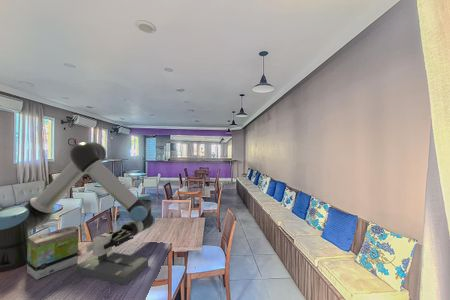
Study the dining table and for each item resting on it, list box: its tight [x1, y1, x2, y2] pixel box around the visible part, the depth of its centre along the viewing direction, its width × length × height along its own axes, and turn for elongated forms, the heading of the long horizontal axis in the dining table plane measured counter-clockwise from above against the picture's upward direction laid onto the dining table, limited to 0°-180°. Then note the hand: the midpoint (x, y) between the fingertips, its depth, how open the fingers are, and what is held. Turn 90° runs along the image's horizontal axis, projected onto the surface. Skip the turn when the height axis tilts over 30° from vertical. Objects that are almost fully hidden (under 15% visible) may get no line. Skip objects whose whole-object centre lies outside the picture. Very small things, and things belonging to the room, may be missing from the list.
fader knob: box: [92, 232, 113, 261], centre depth 94 cm, size 4×6×10 cm, turn 163°
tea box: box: [26, 226, 79, 281], centre depth 93 cm, size 15×10×15 cm
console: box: [75, 251, 149, 286], centre depth 92 cm, size 25×14×3 cm, turn 73°
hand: (91, 249), depth 89 cm, fingers closed on fader knob, 4 cm apart
